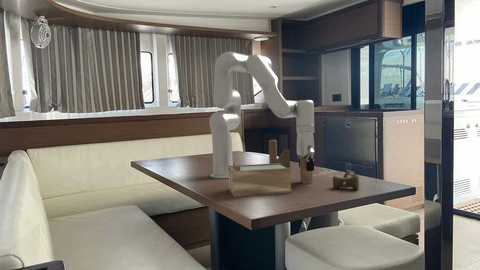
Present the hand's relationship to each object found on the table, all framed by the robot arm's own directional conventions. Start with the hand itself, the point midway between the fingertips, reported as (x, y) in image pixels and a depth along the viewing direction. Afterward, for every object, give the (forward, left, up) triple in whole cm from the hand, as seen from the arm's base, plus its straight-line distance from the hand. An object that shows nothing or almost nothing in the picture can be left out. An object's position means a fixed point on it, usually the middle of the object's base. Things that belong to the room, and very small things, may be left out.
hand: (306, 169), depth 158 cm
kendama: (+13, +12, -6) cm, 19 cm away
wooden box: (+10, -23, -6) cm, 26 cm away
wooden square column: (0, 0, -6) cm, 6 cm away
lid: (+10, -23, +3) cm, 25 cm away
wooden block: (-8, -10, -6) cm, 14 cm away
